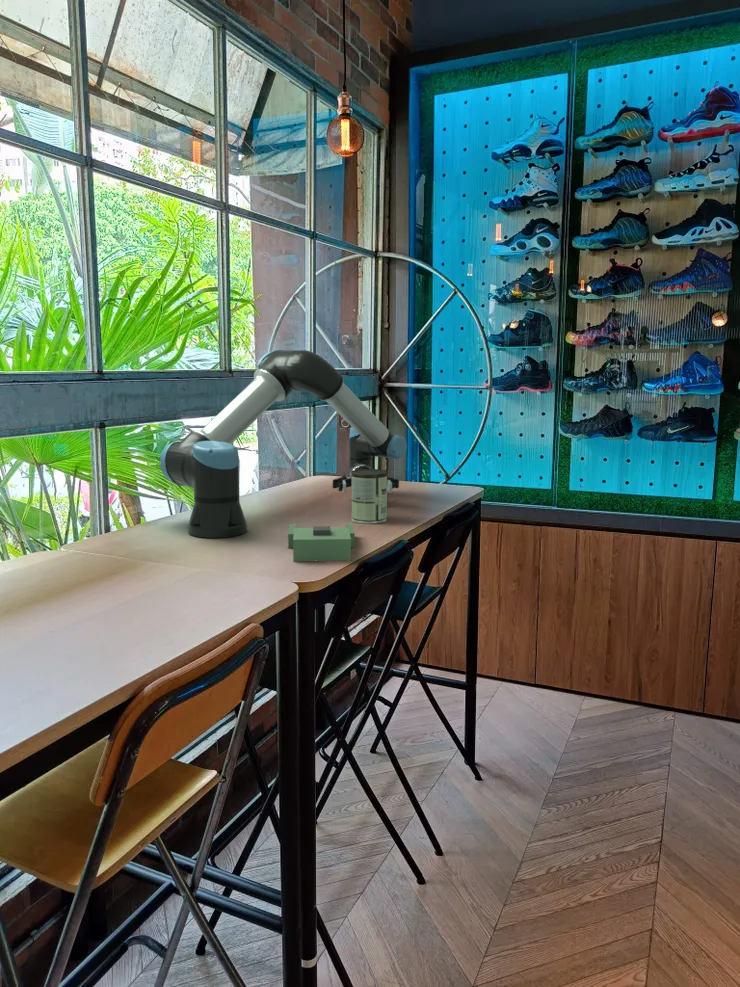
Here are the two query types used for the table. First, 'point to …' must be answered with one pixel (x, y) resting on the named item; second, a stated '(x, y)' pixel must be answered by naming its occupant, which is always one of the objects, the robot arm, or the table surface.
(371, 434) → the robot arm
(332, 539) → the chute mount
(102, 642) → the table surface
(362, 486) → the coffee can
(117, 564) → the table surface
